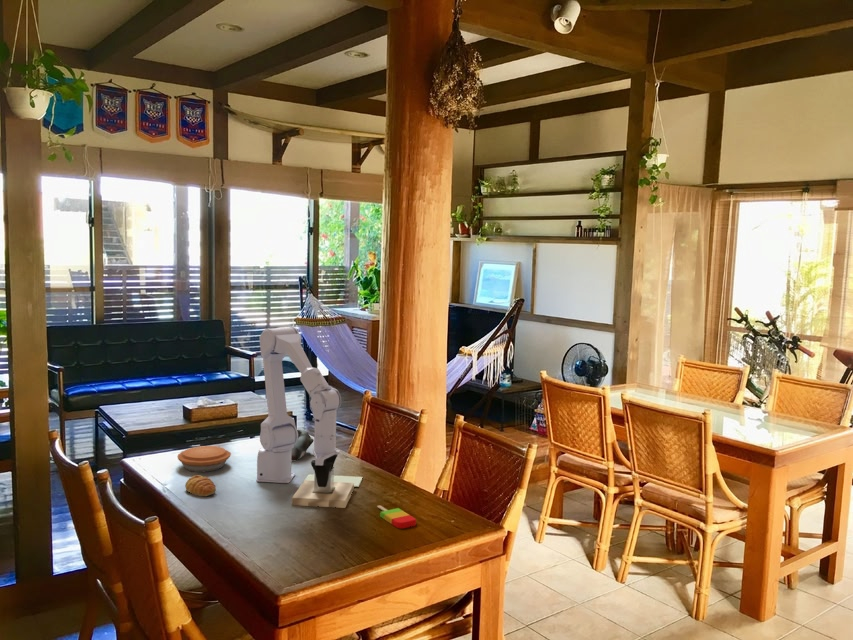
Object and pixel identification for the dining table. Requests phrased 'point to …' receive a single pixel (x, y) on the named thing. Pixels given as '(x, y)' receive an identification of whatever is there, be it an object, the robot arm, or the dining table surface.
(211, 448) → the pie
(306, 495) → the pocket board
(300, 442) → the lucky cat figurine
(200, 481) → the pastry
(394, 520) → the popsicle
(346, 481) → the mat
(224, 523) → the dining table surface
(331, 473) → the block
